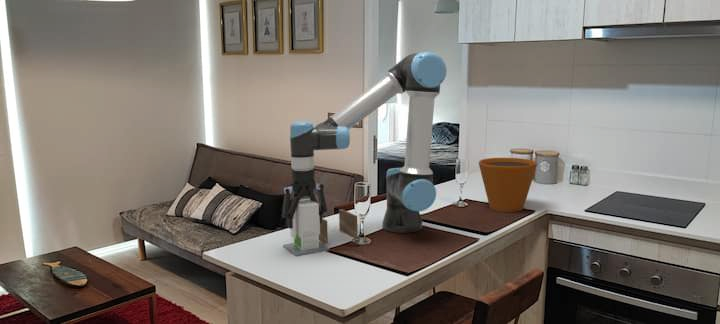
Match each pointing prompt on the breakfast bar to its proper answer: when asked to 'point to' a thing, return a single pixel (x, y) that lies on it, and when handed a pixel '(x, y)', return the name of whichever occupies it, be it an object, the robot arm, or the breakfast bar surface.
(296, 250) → the slate coaster
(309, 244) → the skincare box
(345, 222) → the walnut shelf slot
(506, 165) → the flower pot
